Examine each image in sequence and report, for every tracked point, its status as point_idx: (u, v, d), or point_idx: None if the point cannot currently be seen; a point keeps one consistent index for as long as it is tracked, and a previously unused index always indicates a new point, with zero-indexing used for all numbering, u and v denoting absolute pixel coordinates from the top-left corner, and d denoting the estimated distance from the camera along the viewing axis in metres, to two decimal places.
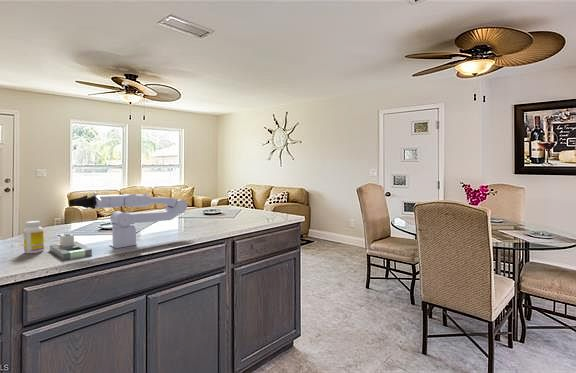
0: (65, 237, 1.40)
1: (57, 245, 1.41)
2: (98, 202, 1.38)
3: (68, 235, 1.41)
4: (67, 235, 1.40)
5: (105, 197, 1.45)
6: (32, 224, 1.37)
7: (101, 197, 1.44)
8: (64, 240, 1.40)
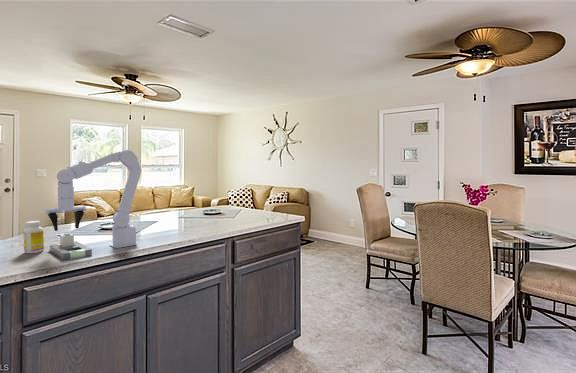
0: (65, 237, 1.40)
1: (57, 245, 1.41)
2: (45, 212, 1.36)
3: (68, 235, 1.41)
4: (67, 235, 1.40)
5: None
6: (32, 224, 1.37)
7: None
8: (64, 240, 1.40)
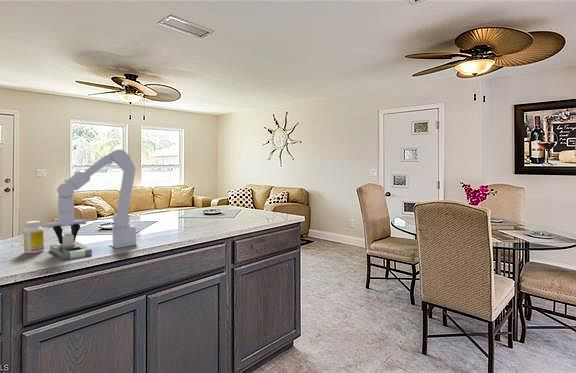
0: (65, 237, 1.40)
1: (57, 245, 1.41)
2: (46, 226, 1.36)
3: (68, 235, 1.41)
4: (67, 235, 1.40)
5: None
6: (32, 224, 1.37)
7: None
8: (64, 240, 1.40)
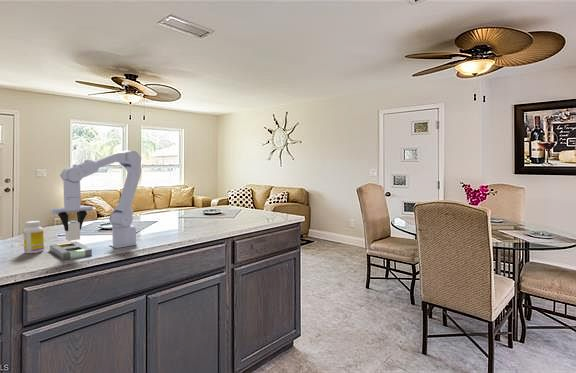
0: (71, 224, 1.34)
1: (57, 245, 1.41)
2: (51, 212, 1.30)
3: (74, 222, 1.34)
4: (73, 222, 1.34)
5: None
6: (32, 224, 1.37)
7: None
8: (70, 228, 1.33)
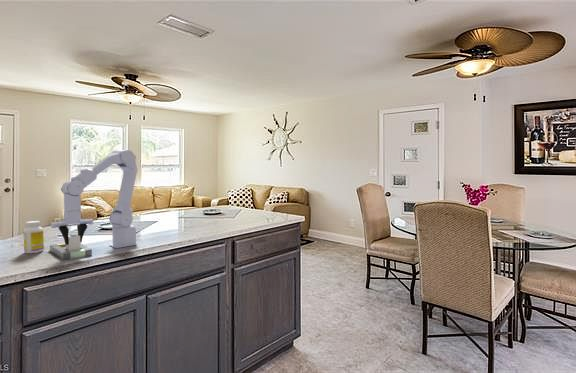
0: (71, 238, 1.34)
1: (57, 245, 1.41)
2: (51, 226, 1.30)
3: (74, 236, 1.35)
4: (73, 236, 1.34)
5: None
6: (32, 224, 1.37)
7: None
8: (71, 241, 1.34)
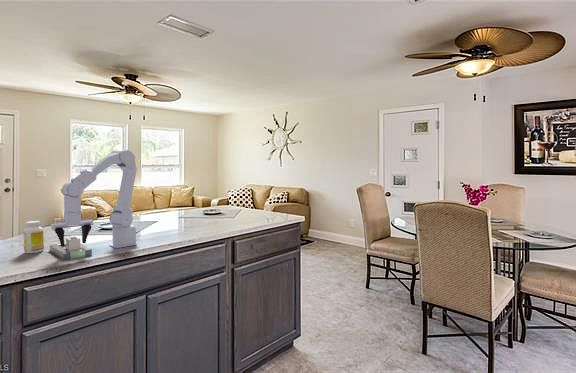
0: (71, 240, 1.34)
1: (57, 245, 1.41)
2: (51, 228, 1.30)
3: (74, 238, 1.35)
4: (73, 238, 1.35)
5: None
6: (32, 224, 1.37)
7: None
8: (71, 244, 1.34)
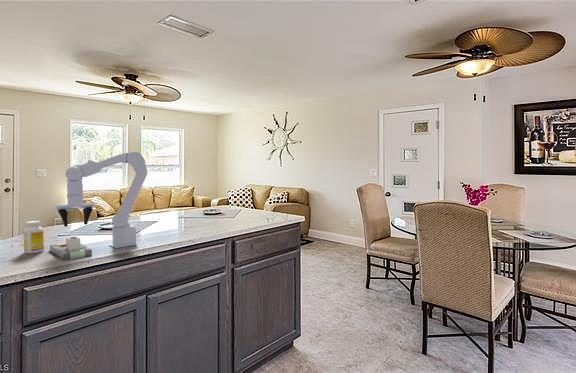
0: (71, 240, 1.34)
1: (57, 245, 1.41)
2: (55, 209, 1.40)
3: (74, 238, 1.35)
4: (73, 238, 1.35)
5: None
6: (32, 224, 1.37)
7: None
8: (71, 244, 1.34)
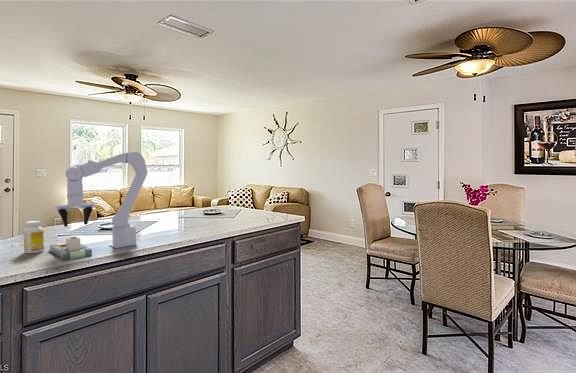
0: (71, 240, 1.34)
1: (57, 245, 1.41)
2: (55, 209, 1.40)
3: (74, 238, 1.35)
4: (73, 238, 1.35)
5: None
6: (32, 224, 1.37)
7: None
8: (71, 244, 1.34)
